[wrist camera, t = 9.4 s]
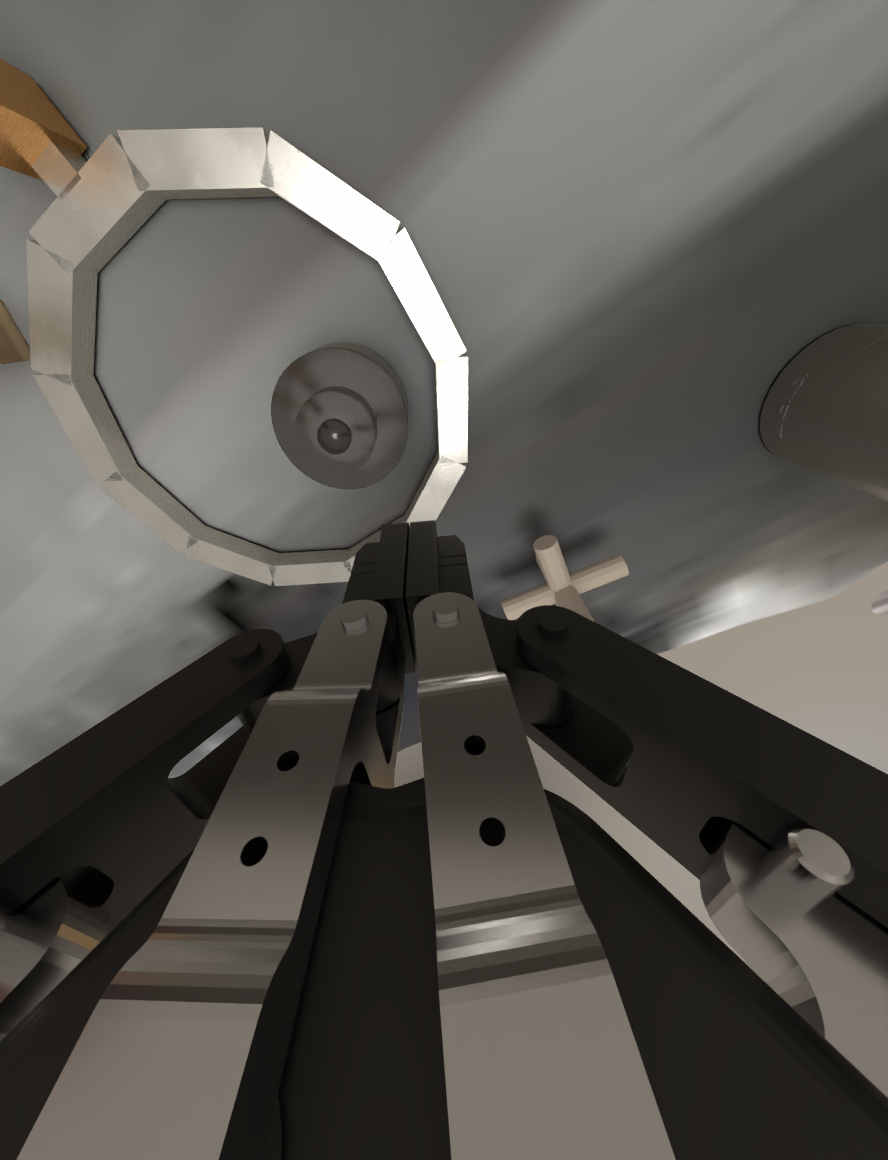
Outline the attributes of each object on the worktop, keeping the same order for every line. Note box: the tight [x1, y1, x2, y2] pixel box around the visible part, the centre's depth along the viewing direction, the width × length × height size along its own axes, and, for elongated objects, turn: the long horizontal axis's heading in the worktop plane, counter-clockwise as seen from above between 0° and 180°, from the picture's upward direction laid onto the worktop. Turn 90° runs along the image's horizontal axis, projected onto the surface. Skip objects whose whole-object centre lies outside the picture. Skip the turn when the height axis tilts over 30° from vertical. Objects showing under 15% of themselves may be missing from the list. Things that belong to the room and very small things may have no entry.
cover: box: [271, 343, 408, 489], centre depth 25 cm, size 8×8×8 cm
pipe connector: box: [501, 535, 629, 622], centre depth 32 cm, size 10×10×10 cm
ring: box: [0, 59, 468, 586], centre depth 23 cm, size 26×30×8 cm
